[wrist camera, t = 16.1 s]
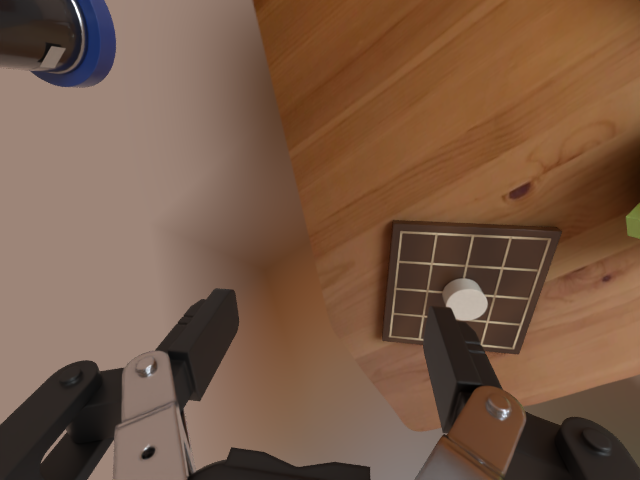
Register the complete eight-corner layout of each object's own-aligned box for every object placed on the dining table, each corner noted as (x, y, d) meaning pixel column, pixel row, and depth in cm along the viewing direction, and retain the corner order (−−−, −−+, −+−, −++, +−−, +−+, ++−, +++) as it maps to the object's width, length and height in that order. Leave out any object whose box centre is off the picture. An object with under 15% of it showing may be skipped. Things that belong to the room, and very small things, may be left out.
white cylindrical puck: (439, 307, 40) (443, 319, 37) (445, 276, 38) (449, 287, 35) (477, 310, 39) (483, 322, 37) (485, 279, 37) (491, 290, 35)
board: (382, 335, 45) (382, 341, 43) (392, 220, 37) (393, 224, 36) (515, 348, 42) (519, 355, 41) (556, 227, 34) (563, 231, 33)
